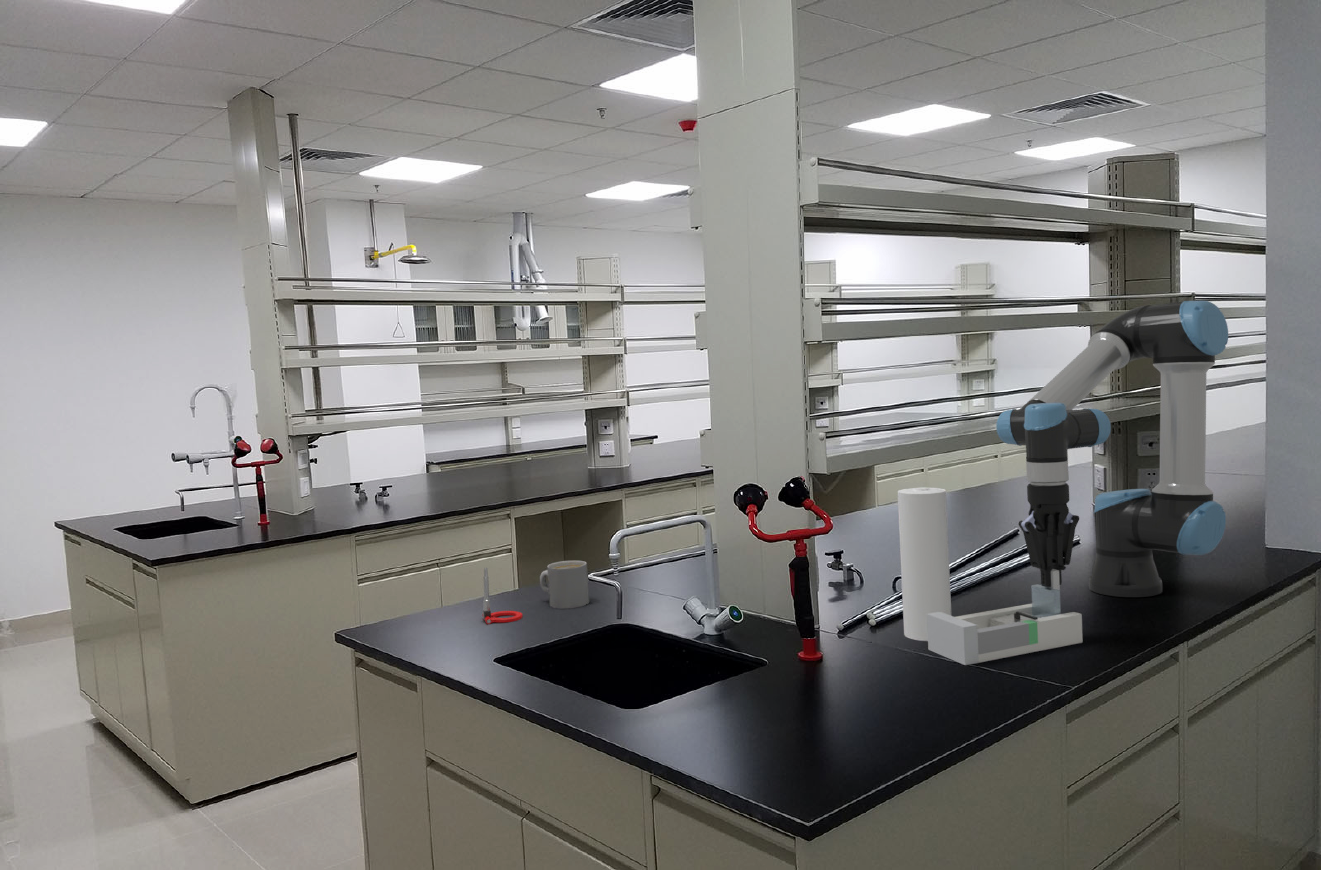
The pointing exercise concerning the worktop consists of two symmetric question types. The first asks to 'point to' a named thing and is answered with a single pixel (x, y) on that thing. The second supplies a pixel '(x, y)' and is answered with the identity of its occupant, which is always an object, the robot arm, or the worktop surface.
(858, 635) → the worktop surface
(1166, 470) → the robot arm
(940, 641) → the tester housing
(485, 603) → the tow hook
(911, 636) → the cylinder container
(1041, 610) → the plunger
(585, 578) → the coffee mug
